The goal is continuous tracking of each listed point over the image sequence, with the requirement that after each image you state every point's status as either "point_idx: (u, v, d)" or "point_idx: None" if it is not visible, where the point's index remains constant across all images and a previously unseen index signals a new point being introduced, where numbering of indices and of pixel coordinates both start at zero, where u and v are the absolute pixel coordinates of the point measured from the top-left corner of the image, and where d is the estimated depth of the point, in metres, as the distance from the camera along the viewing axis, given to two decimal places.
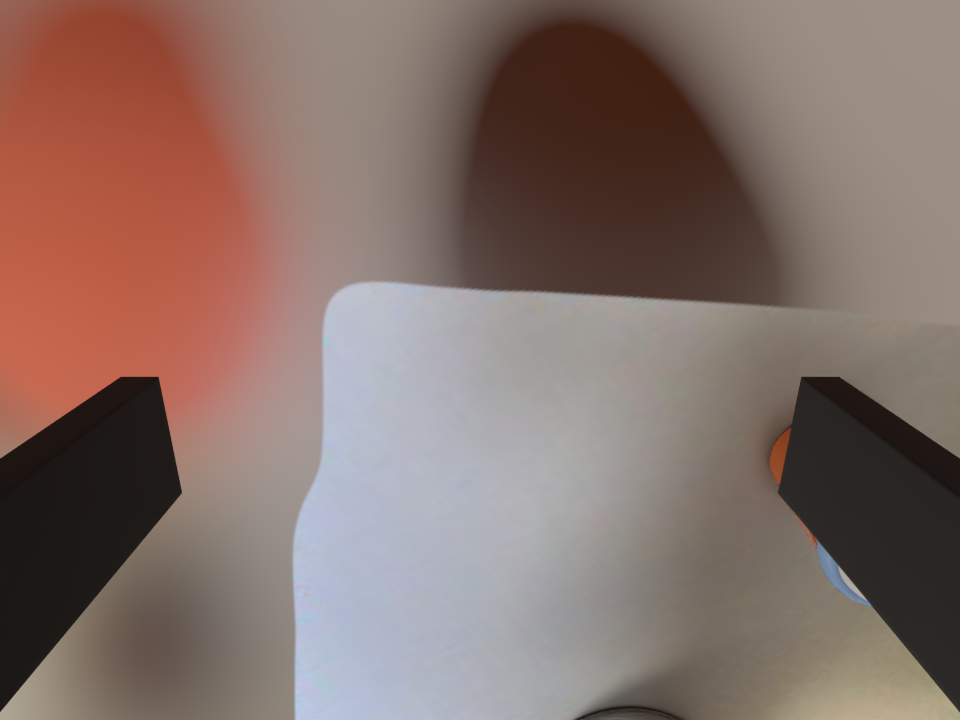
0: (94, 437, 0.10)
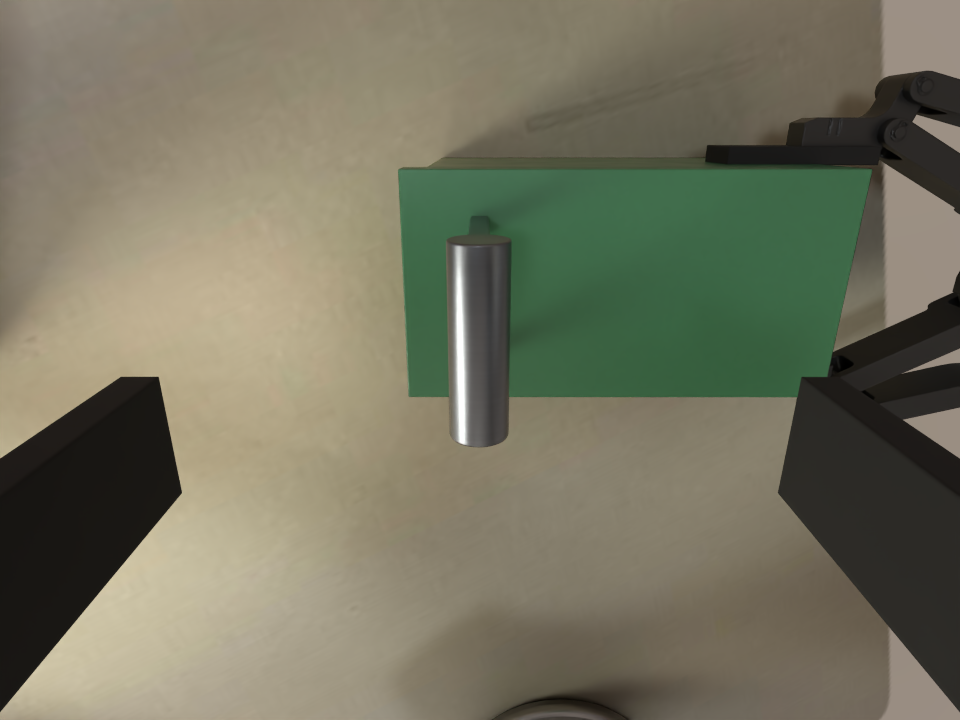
0: (94, 437, 0.10)
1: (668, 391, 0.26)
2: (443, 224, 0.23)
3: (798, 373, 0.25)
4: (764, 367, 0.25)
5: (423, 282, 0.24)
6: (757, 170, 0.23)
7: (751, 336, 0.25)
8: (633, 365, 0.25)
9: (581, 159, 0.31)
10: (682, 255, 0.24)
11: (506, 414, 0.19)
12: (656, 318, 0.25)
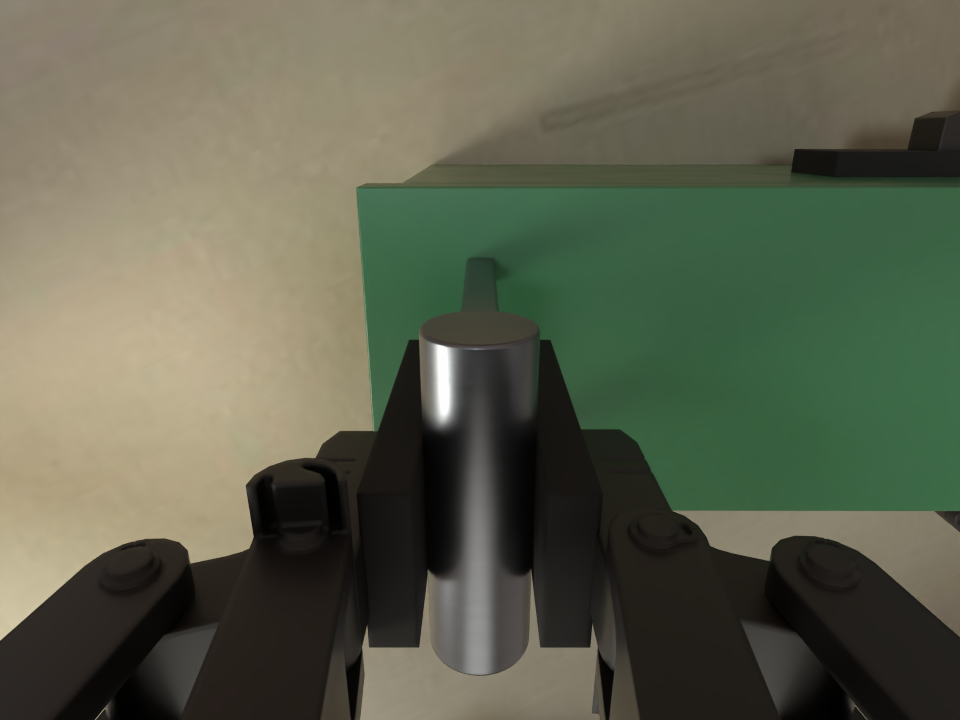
0: None
1: (751, 503, 0.18)
2: (427, 269, 0.15)
3: (941, 480, 0.18)
4: (892, 471, 0.17)
5: (397, 353, 0.16)
6: (905, 189, 0.15)
7: (877, 429, 0.17)
8: (703, 468, 0.17)
9: (616, 167, 0.23)
10: (783, 313, 0.16)
11: (526, 615, 0.11)
12: (739, 404, 0.17)
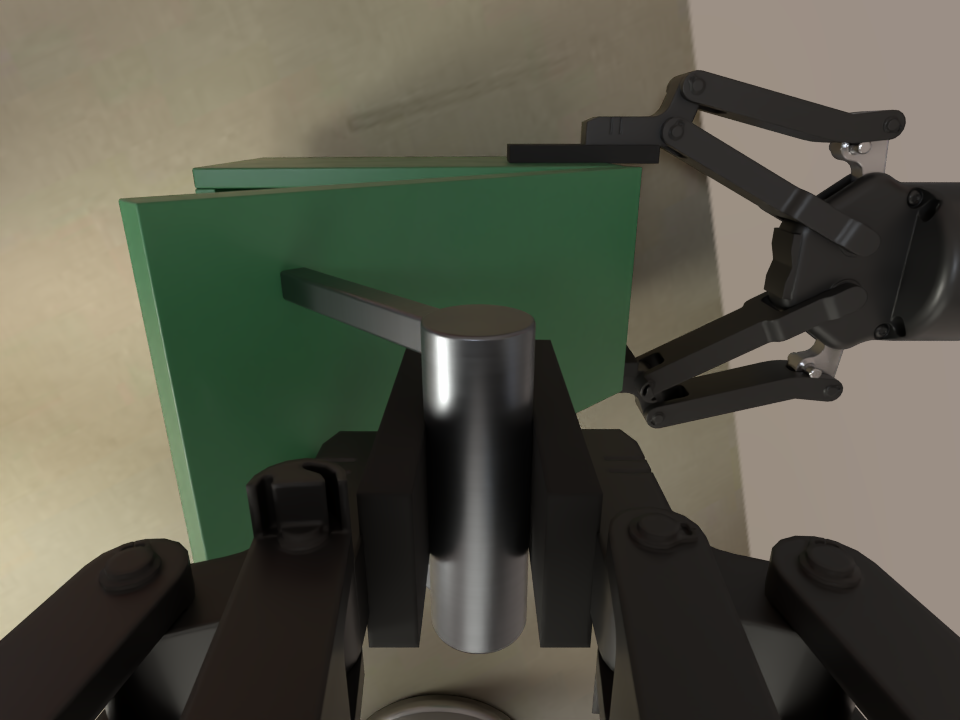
0: None
1: None
2: (236, 292, 0.13)
3: (607, 375, 0.25)
4: (586, 378, 0.24)
5: (213, 396, 0.14)
6: (572, 173, 0.20)
7: (576, 350, 0.23)
8: None
9: None
10: (521, 277, 0.20)
11: None
12: None
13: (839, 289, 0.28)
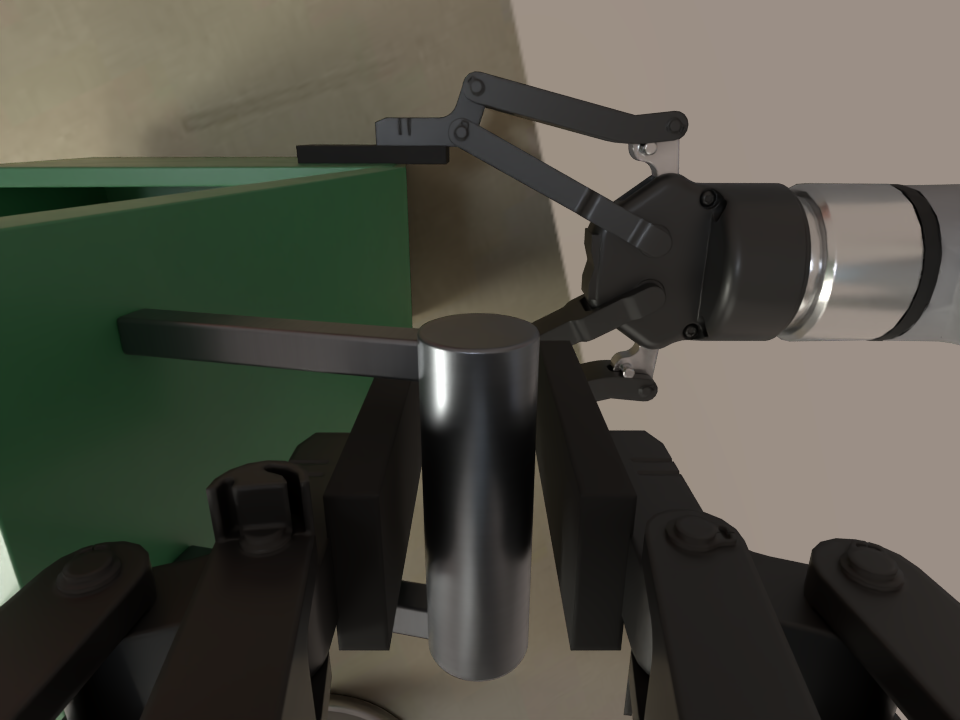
0: (412, 384, 0.12)
1: None
2: (66, 355, 0.10)
3: None
4: None
5: (54, 509, 0.10)
6: (361, 175, 0.20)
7: None
8: None
9: None
10: (336, 288, 0.18)
11: None
12: (332, 376, 0.19)
13: (639, 289, 0.28)
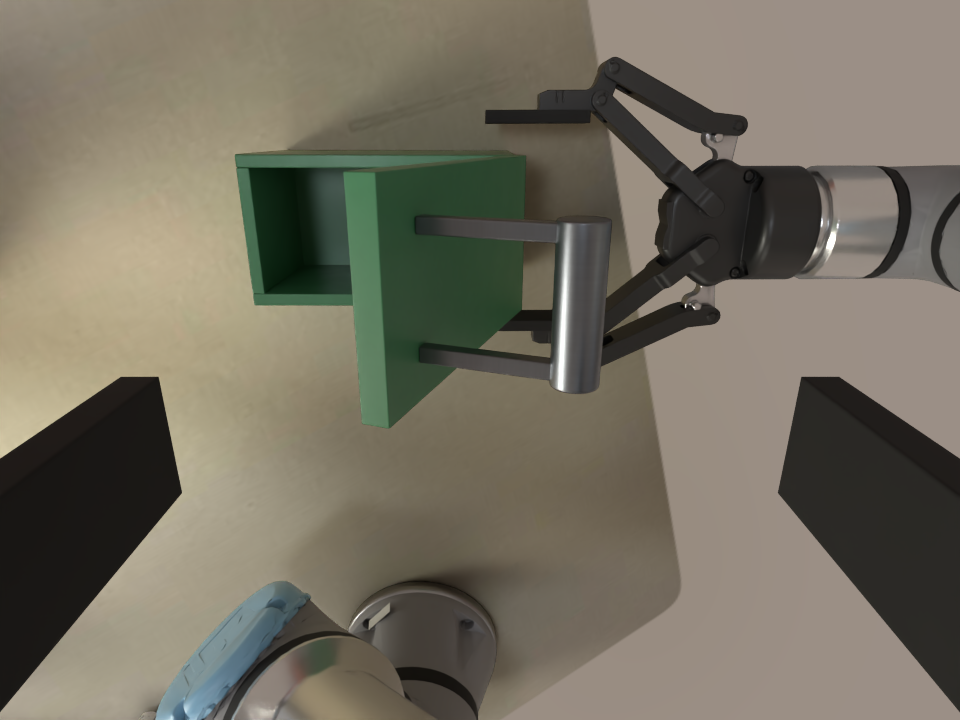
0: (95, 437, 0.10)
1: (487, 336, 0.33)
2: (401, 228, 0.22)
3: (516, 297, 0.37)
4: (509, 299, 0.36)
5: (393, 295, 0.22)
6: (503, 159, 0.31)
7: (506, 278, 0.34)
8: (477, 323, 0.31)
9: None
10: None
11: None
12: (482, 280, 0.31)
13: (700, 241, 0.40)
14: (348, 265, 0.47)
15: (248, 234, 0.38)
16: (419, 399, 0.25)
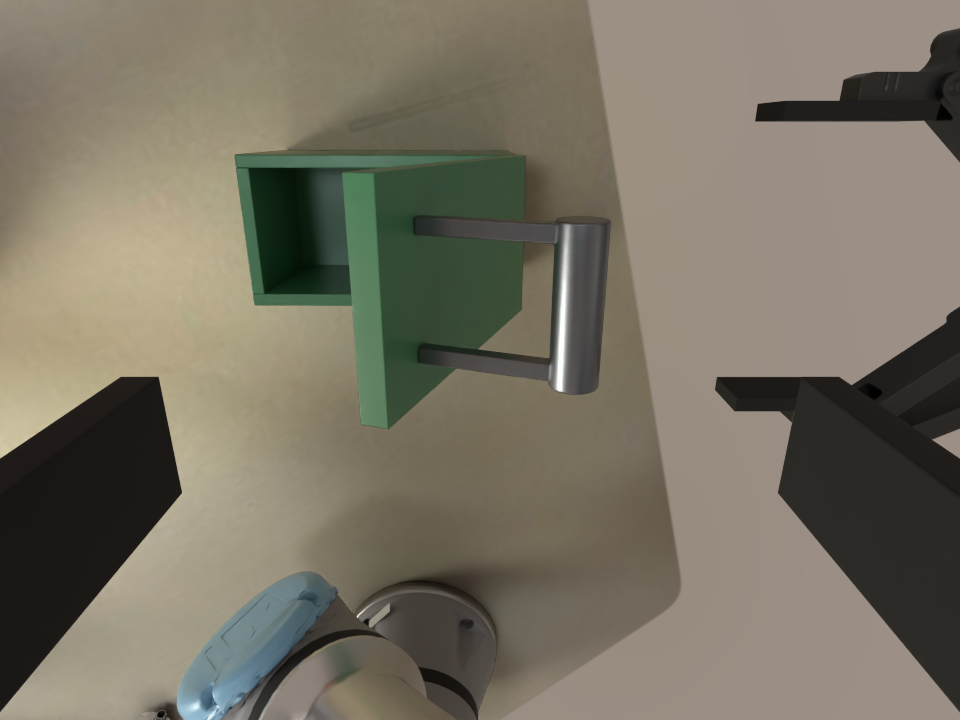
0: (95, 437, 0.10)
1: (486, 336, 0.33)
2: (400, 229, 0.22)
3: (516, 297, 0.37)
4: (509, 299, 0.36)
5: (392, 296, 0.22)
6: (503, 159, 0.31)
7: (505, 279, 0.34)
8: (476, 323, 0.31)
9: None
10: None
11: None
12: (481, 280, 0.31)
13: None
14: (348, 265, 0.47)
15: (248, 234, 0.38)
16: (418, 400, 0.25)
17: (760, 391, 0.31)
